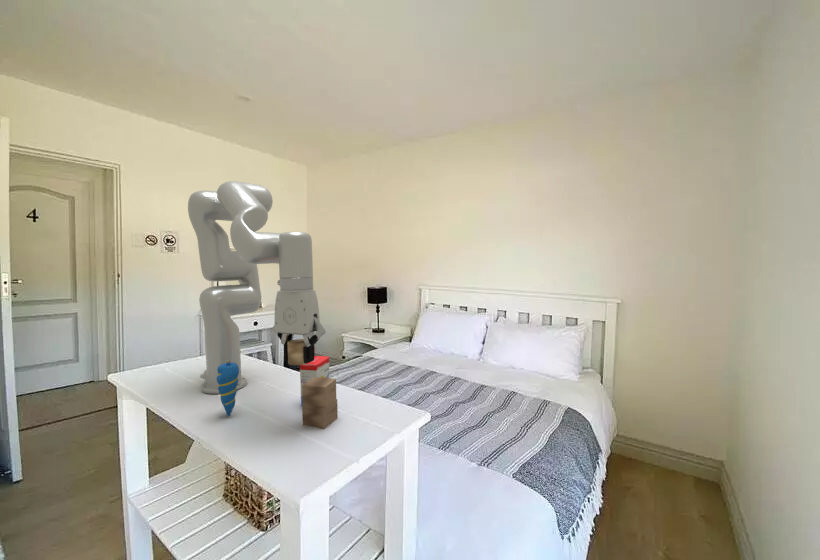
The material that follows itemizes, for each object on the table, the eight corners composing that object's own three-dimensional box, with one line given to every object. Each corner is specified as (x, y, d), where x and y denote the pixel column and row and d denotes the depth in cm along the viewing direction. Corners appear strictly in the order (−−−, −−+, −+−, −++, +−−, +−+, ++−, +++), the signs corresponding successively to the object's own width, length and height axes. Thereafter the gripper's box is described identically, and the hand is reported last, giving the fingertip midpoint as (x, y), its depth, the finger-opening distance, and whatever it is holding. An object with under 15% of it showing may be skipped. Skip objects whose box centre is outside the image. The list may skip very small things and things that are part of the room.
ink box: (317, 408, 96) (315, 354, 95) (300, 406, 97) (298, 353, 96) (330, 395, 104) (329, 346, 103) (314, 394, 105) (313, 345, 104)
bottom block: (302, 425, 86) (302, 405, 86) (317, 414, 92) (316, 395, 92) (324, 429, 84) (323, 408, 84) (337, 418, 90) (337, 398, 90)
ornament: (219, 413, 93) (216, 356, 92) (241, 409, 95) (238, 354, 94) (217, 421, 89) (214, 361, 87) (240, 417, 91) (238, 359, 89)
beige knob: (283, 364, 84) (282, 343, 84) (297, 358, 89) (296, 338, 89) (300, 366, 83) (300, 344, 82) (314, 360, 87) (313, 339, 87)
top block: (302, 406, 86) (302, 385, 85) (314, 396, 91) (313, 377, 91) (326, 408, 84) (325, 387, 84) (336, 398, 90) (335, 378, 90)
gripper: (256, 285, 84) (260, 361, 85) (317, 286, 78) (319, 369, 79) (279, 283, 91) (282, 353, 92) (336, 284, 85) (338, 359, 86)
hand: (299, 360), depth 86 cm, fingers closed on beige knob, 5 cm apart
